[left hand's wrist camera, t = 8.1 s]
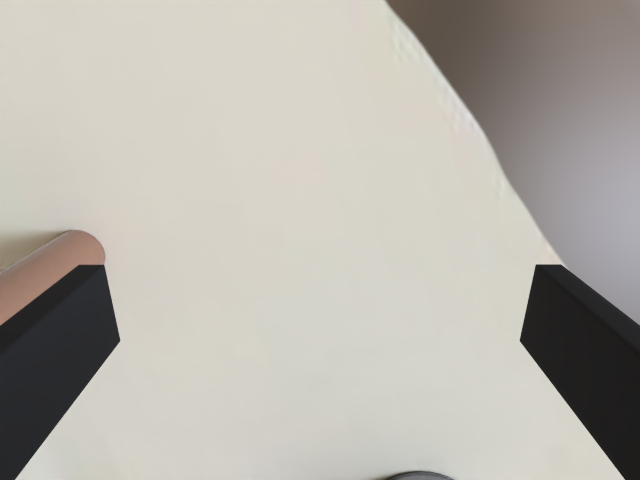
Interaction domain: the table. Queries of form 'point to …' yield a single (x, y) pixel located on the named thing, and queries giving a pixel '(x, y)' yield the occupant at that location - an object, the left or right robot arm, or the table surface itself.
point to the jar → (45, 269)
